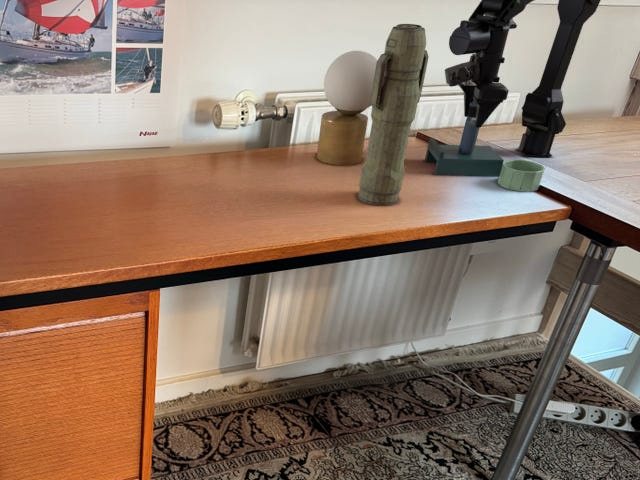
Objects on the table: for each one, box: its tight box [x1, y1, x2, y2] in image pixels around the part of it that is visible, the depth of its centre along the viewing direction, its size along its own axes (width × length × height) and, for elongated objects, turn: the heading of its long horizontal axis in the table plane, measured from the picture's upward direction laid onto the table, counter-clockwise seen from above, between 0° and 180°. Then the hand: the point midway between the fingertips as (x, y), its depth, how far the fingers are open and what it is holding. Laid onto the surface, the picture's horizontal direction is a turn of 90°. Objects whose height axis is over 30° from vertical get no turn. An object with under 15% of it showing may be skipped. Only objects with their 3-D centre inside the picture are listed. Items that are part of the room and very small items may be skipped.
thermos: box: [357, 23, 430, 206], centre depth 145 cm, size 9×12×35 cm
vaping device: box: [459, 100, 480, 155], centre depth 165 cm, size 3×5×12 cm, turn 174°
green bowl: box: [497, 159, 546, 193], centre depth 160 cm, size 9×9×4 cm
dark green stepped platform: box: [424, 138, 505, 177], centre depth 169 cm, size 15×11×6 cm
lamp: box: [316, 50, 378, 166], centre depth 172 cm, size 15×14×25 cm
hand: (472, 122), depth 165 cm, fingers open, 9 cm apart
